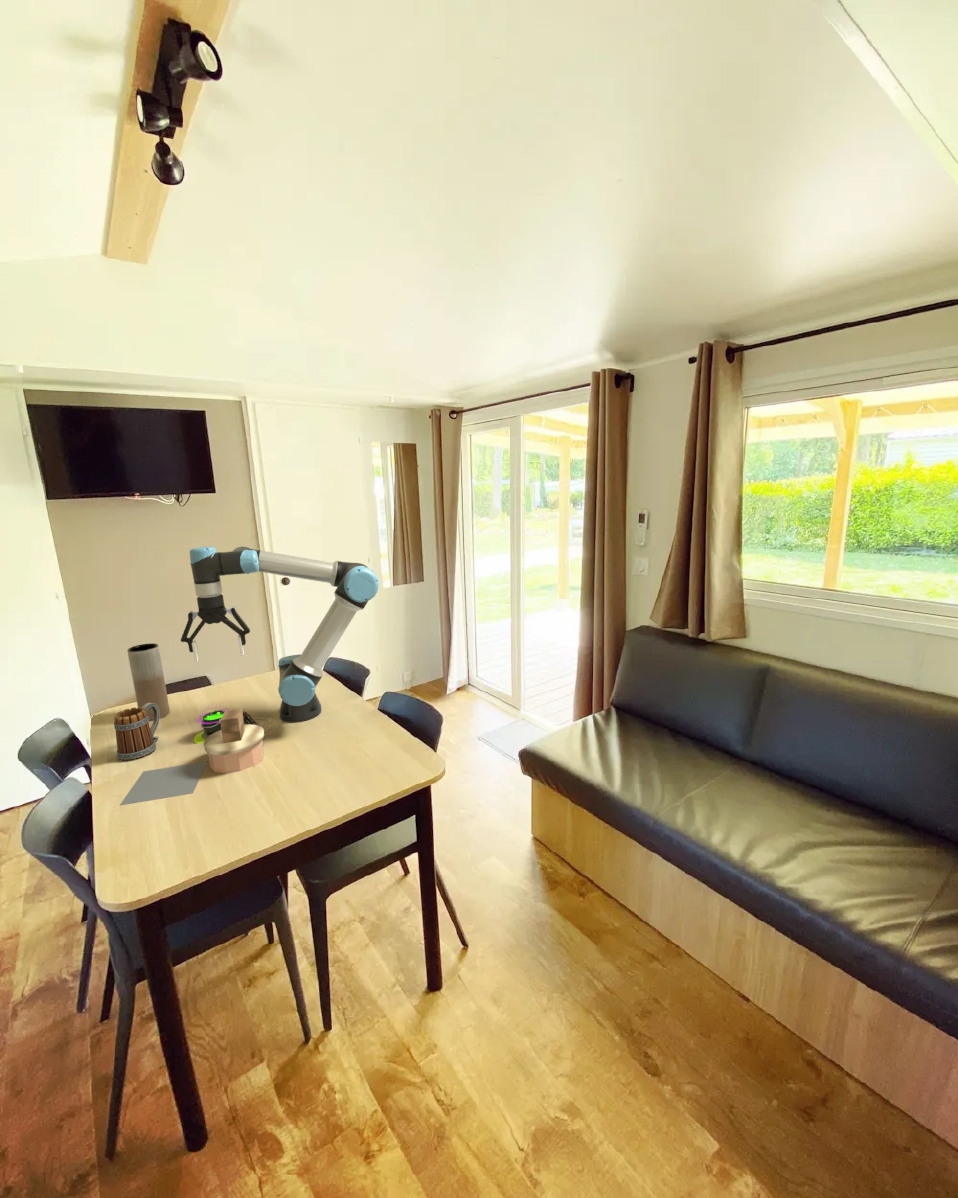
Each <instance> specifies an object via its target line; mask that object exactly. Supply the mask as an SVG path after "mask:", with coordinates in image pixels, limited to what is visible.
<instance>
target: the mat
mask: <svg viewBox="0 0 958 1198" xmlns="http://www.w3.org/2000/svg"><path fill="white" fill-rule="evenodd" d="M208 763H209V760H208V761H202V762H196V763H190V764H189V763H188V764H182V765H175V766H169V767H162V768H157V769H149V770H143V771H142V773H141V774H140V776H139V777H138V778H137V780H136V781H135V782H134V784H133V785H132V787H131V788H130V789H129V791H128V792H127V794H126V795H125V797H124V799H123V800H122V801H121V802H120V804H119V806H126V805H130V804H137V803H142V802H148V801H156V800H161V799H167V798H172V797H178V796H179V797H180V796H186V795H191V794H193V793H194V791H195V790H196V787H197V785H198V783H199V781H200V779H201V777H202V775H203V773H204V771H205V769H206V767H207V764H208Z"/></svg>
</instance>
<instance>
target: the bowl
mask: <svg viewBox="0 0 958 1198" xmlns="http://www.w3.org/2000/svg"><path fill="white" fill-rule="evenodd" d="M207 754H208V763H209V767H210V769H211V770H212V771H213V772H215V773H220V774H229V773H230V774H231V773H236V772H241V771H244V770H246V769H248V768H251V767H253V768H255V767H257V765H259V764H260V763H262V762H263V761H264V757H265V748H264V743H263V740H262V741H261V742H260V743H259V744H257V745H256V746H254V747H252V748H250V749H247V750H245V751H242V752H238V753H234V754H228V755H213V754H209V753H207Z"/></svg>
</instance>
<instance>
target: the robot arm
mask: <svg viewBox="0 0 958 1198" xmlns="http://www.w3.org/2000/svg"><path fill="white" fill-rule="evenodd" d="M189 560H190V564H189V565H190V568H191V573H192V579H193V584H194V590H195V596H197V597H196V602H197V607H198V611H189V612H188V614H187V619H188V620H187V622H186V625H185V626H184V630H183V633H182V635H181V638H180V642H182V643H187V645H188V650H189V652H190V653H192V654H193V658H194V663H198V662H199V660H200V657H199V652H198V651H199V650H198V645H197V641H196V640H194V639H195V638H196V636H197V635H198V633H199V632H200V631H201V630H202V628H203V627H204V625H205V624H207V625H212V624H220V623H223V624H225V625H226V626H228V628H230V629H231V630H232V631H234V632H235V633H237V634H238V635H237V640H238V647H239V652H240V656H244V655H245V651H244V646H246V643H247V640H246V635H247V634H250V633H251V629H250V628H249V626H248V625H247V624H246V622H245V621H244V620H243V618H242V617H241V616H240V615H239V613H238V611H237V608H236V606H232V607H230V608H226V606H225V599H224V595H223V594H222V593H223V588H222V582H221V576H230V575H232V576H233V575H244V574H247V575H249V574H253V573H257V572H261V573H267V574H271V575H277V576H278V575H279V576H285V577H291V578H297V579H301V580H302V579H304V580H309V581H315V582H319V583H320V582H321V583H327V584H330V586H331V587H336V588H335V590H334V592H333V594H334V597H335V599H334V600H333V602H332V604H331V605H330V607H329V608H328V610H327V612H326V614H325V616H324V617H323V619H322V620H321V622H320V623H319V625H318V627H317V628H316V630H315V632H314V633H313V635H312V637H311V638H310V640H309V641H308V643H307V644H306V646H305V648H304V649H303V651H302V652H301V653H300V654H294V655H293V654H292V655H287V656H284V657H280V658H279V659H278V666H277V667H278V669H279V681H278V682H279V683H278V687H277V688H278V689H277V690H278V694H279V698H281V703H280V708H279V711H278V712H279V718H280V720H281V721H283V722H287V723H299V722H304V721H308V720H312V719H314V718H316V717H317V716H320V714H321V713H322V704H321V702H320V700H319V697H318V695H317V693H316V687H317V686H318V685H319V682H320V681H321V680H322V677H323V676H324V673H323V667H324V666H325V664H326V662H327V661H328V659H329V657H330V656H331V654H332V653H333V652H334V650H335V648H336V647H337V644H338V643H339V641H340V640H341V638H342V636H343V635H344V634H345V632H346V630H347V628H348V627H349V625H350V623H351V622H352V620H353V618H354V617H355V615H356V613H357V612H359V611H362V610H364V608H365V607H366V606H367V604H368V602H369V601H370V600H373V598H375V597H376V595H377V593H378V590H379V587H380V586H379V585H380V583H379V579H378V577H377V574H376V573H375V572H374V570H373V569H371V568H370V567H368V566H367V565H365V564H363V563H359V562H350V561H340V560H335V561H334V562H330V561H325V560H323V561H322V560H318V559H317V560H316V559H312V558H307V557H306V558H305V557H301V556H294V555H290V554H284V553H277V552H272V551H266V550H259V549H255V548H254V549H253V548H250V547H248V546H238V547H235V548H234V549H233V550H232V551H231V550H230V551H223V552H221V551H220V552H217V550H216V548H215V547H214V546H200V547H199V546H198V547H194V548H191V549H190V550H189ZM228 613H229V615H232V617H233V618H234V620H236V622H237V623H238V625H239V626H240V627H241V628H240V627H239V626H238V625H236V624H235V623H234V622H232V621H231V620H230V619H229V618H228V617H227V614H228ZM197 617H198V618H199V619H201V621H200V622H199V624H198V626H197V627H196V628H195V630H194V631H193V632H192V633H191V635H190V637H188V636H189V632H190V631H191V627H192V625H193V622H194V620H195V619H196V618H197Z"/></svg>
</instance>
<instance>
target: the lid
mask: <svg viewBox="0 0 958 1198" xmlns="http://www.w3.org/2000/svg"><path fill="white" fill-rule="evenodd" d="M220 724H221V730H219V731H217V732H215V733H213V734H212V735H210V736H209V737H208V738H207V739H206V740H205V741H204V743H203V747H204V751H205V752H206V753H207V754H208V753H209V754H213V755H228V754H234V753H238V752H242V751H245V750H247V749H250V748H252V747H254V746H256V745H257V744H259V743H260V742H261V741H263V740H264V738H265V730H264V728H263V727H261V725H257V724H248V723H247V724H245V723H244V713H243V708H237V709H231V710H229V709H228V711H226V710H225V712H224V714H223V716H222V717H221V719H220Z"/></svg>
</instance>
